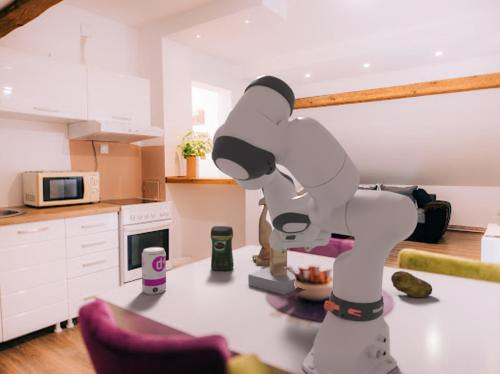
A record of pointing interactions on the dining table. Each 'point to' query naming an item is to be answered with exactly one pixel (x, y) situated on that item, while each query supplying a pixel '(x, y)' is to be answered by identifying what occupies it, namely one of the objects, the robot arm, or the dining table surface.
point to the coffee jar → (222, 248)
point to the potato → (410, 284)
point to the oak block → (278, 262)
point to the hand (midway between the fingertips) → (294, 250)
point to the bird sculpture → (263, 236)
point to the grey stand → (272, 281)
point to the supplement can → (153, 270)
